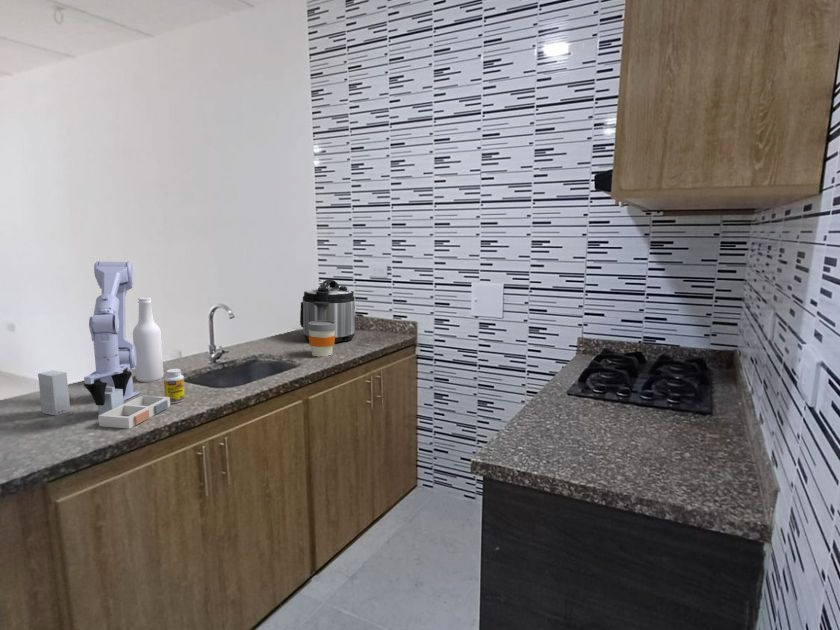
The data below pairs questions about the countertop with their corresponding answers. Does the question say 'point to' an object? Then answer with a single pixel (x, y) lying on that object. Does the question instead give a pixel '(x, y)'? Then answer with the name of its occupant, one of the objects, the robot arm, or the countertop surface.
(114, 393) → the plug
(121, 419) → the white divided frame
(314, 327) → the reusable coffee cup
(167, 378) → the supplement bottle
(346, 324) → the pressure cooker
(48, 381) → the skincare box
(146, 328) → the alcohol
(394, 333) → the countertop surface
